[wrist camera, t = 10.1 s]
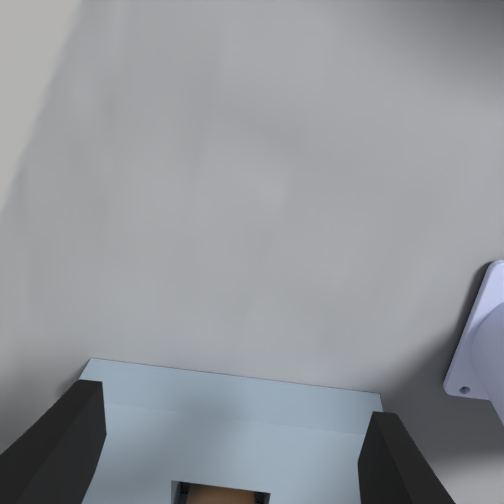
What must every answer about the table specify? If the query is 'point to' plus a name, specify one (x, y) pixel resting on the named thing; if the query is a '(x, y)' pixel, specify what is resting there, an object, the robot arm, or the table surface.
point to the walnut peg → (219, 495)
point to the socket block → (225, 436)
